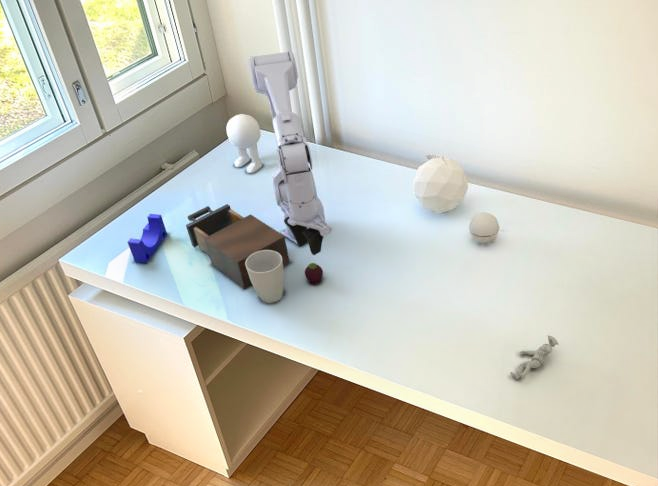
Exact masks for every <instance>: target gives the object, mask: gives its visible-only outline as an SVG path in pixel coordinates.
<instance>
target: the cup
mask: <svg viewBox="0 0 658 486" xmlns="http://www.w3.org/2000/svg"><path fill="white" fill-rule="evenodd" d="M245 265H246V268H247V271H248V274H249V277H250V280H251V282H252V284H253V285H252V286H253V288H254V290H255V292H256V294H257V295H258V297H259V298H260V300H261V301H263V302H264V303H268V304H271V303H276V302H279V301H280V300H281V299H282V297H283V295H284V289H285V270H284V266H283V261H282V256H281V255H280V254H279V253H278V252H276V251H272V250H262V251H258V252H255V253H253V254H251V255H250V256H249V257H248V258H247V259H246V262H245Z"/></svg>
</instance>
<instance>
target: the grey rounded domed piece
mask: <svg viewBox="0 0 658 486" xmlns="http://www.w3.org/2000/svg"><path fill="white" fill-rule="evenodd" d="M468 230H469V234H470V236H471V237H472V239H473V240H475V241H476V242H477V243H483V244H484V243H485V244H487V243H489V242H492V241H493V240H494V239H495V238H497V236H498V233H499V232H503V230H502V229H501V230H500V224H499V221H498V219H497V217H496V216H495V215H493V214H492V213H490V212H487V211H483V212H479V213H477V214H475V215H474V216H473V217H472V218H471V220H470V221H469V224H468Z"/></svg>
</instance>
